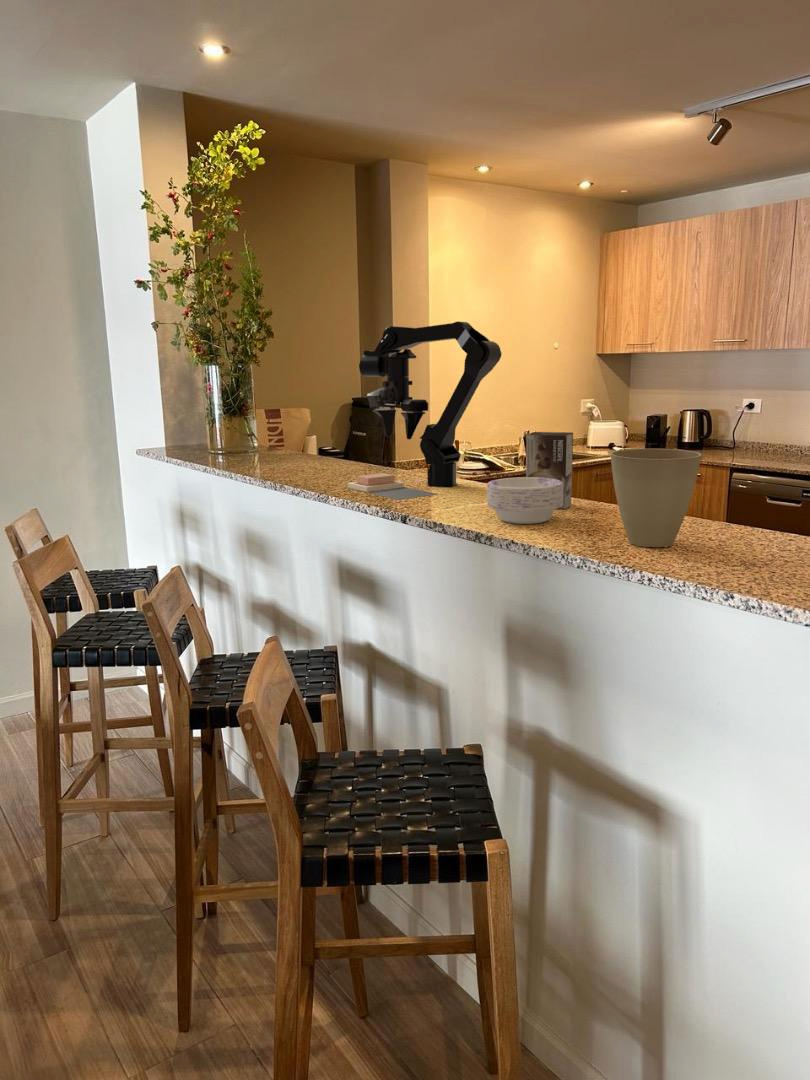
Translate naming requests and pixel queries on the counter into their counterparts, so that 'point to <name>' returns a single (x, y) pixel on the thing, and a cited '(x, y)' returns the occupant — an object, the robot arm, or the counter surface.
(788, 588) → the counter surface
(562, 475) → the coffee box
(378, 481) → the pink rectangular block
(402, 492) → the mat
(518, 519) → the paper bowls
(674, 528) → the plant pot
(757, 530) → the counter surface
